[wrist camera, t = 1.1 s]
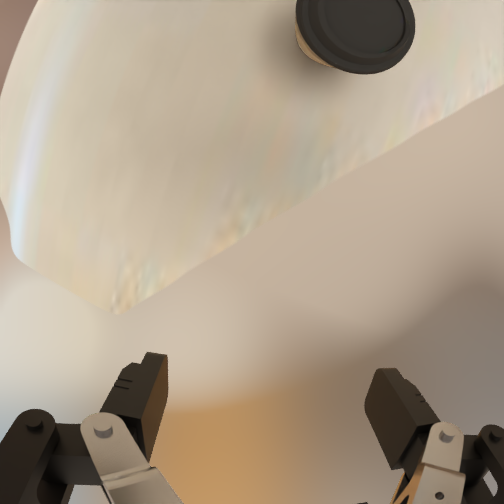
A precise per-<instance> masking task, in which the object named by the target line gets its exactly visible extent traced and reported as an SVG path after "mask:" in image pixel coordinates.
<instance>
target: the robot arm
mask: <svg viewBox="0 0 504 504" xmlns="http://www.w3.org/2000/svg"><path fill="white" fill-rule="evenodd" d="M167 397H168V357H167V355H165V354H158V353H151V352H147V353H146V354H145V356H144V359H143V360H142V363H141V364H138V363H131V364H129V365H128V366H126V367H125V368H123V369H122V371H121V373H120V375H119V376H118V380H116V382H115V384H114V387H112V389H111V391H110V393H109V395H108V397H107V399H106V400H105V402H104V404H103V406H102V408H101V410H100V412H99V413H95V414H92V415H89V416H88V417H86V418H85V419H84V420H83V421H82V423H81V424H61V423H55V420H54V418H53V416H52V415H51V414H49V413H48V412H46V411H44V410H40V409H30V410H27V411H24V412H22V413H21V414H20V415H19V416H18V417H17V418H16V420H15V421H14V423H13V424H12V426H11V427H10V429H9V430H8V432H7V433H6V435H5V437H4V438H3V440H2V441H1V443H0V504H68V502H69V499H70V496H71V494H72V491H73V488H74V485H100V486H101V488H102V490H103V492H104V494H105V496H106V498H107V500H108V502H109V504H184V503H183V502H182V501H181V500H180V498H179V497H178V495H177V494H176V493H175V492H174V490H173V489H172V488H171V486H170V485H169V483H168V482H167V480H166V479H165V478H164V476H163V475H162V473H161V472H160V471H159V470H158V469H157V468H156V467H151V466H150V465H149V461H150V458H151V454H152V451H153V447H154V444H155V440H156V436H157V433H158V430H159V426H160V423H161V419H162V416H163V413H164V409H165V406H166V402H167ZM365 413H366V415H367V417H368V419H369V421H370V424H371V426H372V428H373V430H374V432H375V434H376V437H377V439H378V441H379V443H380V445H381V448H382V450H383V452H384V454H385V456H386V459H387V461H388V463H389V466H390V468H391V470H395V469H400V468H403V469H404V471H405V472H404V473H403V474H402V476H401V478H400V481H399V483H398V486H397V488H396V491H395V493H394V495H393V497H392V500H391V502H390V504H504V429H503V428H501V427H499V426H497V425H486V426H484V427H483V428H482V429H481V431H480V433H479V434H478V435H463V432H462V431H461V430H460V429H459V428H458V427H457V426H456V425H454V424H451V423H448V422H441V421H440V420H439V419H438V417H437V416H436V414H435V413H434V411H433V410H432V409H431V407H430V406H429V404H428V403H427V402H425V399H424V397H423V396H421V393H420V392H419V390H418V389H417V388H416V386H415V385H413V384H412V383H410V382H409V381H408V380H407V379H404V378H403V377H402V375H401V374H400V372H399V371H398V370H397V369H396V368H380V369H377V370H376V372H375V374H374V377H373V380H372V383H371V385H370V388H369V391H368V393H367V396H366V399H365ZM489 470H490V472H491V474H492V475H493V477H494V479H495V480H496V482H497V485H498V490H497V493H496V495H495V496H494V497H493V495H492V494H491V492H490V490H489V488H488V486H487V484H486V483H485V481H484V479H483V477H484V476H485V475H486V473H487V472H488V471H489ZM359 504H368V503H367V502H365V503H359Z"/></svg>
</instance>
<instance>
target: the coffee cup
mask: <svg viewBox="0 0 504 504" xmlns="http://www.w3.org/2000/svg"><path fill="white" fill-rule="evenodd" d="M295 31H296V37H297V42H298V44H299V46H300V48H301V50H302V51H303V52H304V53H305V54H306V55H307V56H308V57H309V58H311V59H312V60H314V61H316V62H318V63H320V64H323V65H326V66H330V67H333V68H337V69H340V70H343V71H346V72H349V73H354V74H375V73H379V72H383V71H385V70H388V69H390V68H391V67H393V66H395V65H396V64H397V63H398V62H400V61H401V59H402V58H403V57H404V56H405V55H406V53H407V52H408V50H409V49H410V47H411V45H412V42H413V39H414V35H415V18H414V13H413V10H412V7H411V5H410V2H409V0H297V3H296V24H295Z"/></svg>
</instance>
